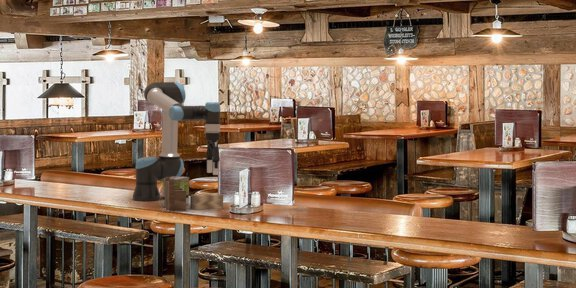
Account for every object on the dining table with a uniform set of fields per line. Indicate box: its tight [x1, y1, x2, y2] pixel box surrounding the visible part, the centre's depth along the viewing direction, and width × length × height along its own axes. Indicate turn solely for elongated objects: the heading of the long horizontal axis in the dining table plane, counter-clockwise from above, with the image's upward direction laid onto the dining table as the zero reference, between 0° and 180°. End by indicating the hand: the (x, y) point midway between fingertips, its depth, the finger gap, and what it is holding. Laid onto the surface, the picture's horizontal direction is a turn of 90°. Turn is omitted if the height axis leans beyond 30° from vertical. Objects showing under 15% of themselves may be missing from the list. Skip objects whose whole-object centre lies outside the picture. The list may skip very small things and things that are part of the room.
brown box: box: [164, 177, 187, 212], centre depth 450 cm, size 14×8×16 cm, turn 18°
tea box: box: [161, 176, 190, 207], centre depth 466 cm, size 15×10×15 cm
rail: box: [189, 193, 224, 210], centre depth 455 cm, size 16×5×7 cm, turn 108°
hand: (212, 173), depth 455 cm, fingers open, 13 cm apart
